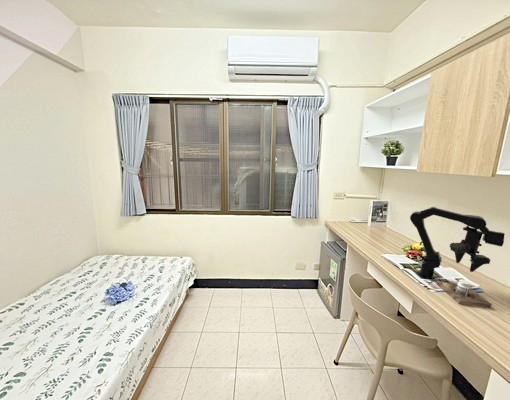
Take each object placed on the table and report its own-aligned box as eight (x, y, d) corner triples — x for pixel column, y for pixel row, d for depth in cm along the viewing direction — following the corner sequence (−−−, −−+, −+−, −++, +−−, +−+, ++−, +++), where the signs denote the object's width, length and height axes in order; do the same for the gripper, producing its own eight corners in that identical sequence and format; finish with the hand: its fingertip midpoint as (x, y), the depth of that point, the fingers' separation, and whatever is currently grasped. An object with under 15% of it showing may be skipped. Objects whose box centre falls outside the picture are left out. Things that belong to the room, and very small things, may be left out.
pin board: (436, 284, 122) (437, 280, 121) (463, 287, 120) (465, 284, 120) (458, 303, 106) (459, 299, 106) (490, 307, 105) (491, 303, 104)
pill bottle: (460, 293, 115) (465, 279, 113) (469, 299, 110) (474, 284, 109) (451, 292, 115) (456, 278, 113) (460, 299, 110) (464, 284, 108)
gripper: (442, 232, 124) (436, 257, 128) (470, 245, 106) (461, 274, 110) (464, 234, 123) (457, 259, 127) (495, 248, 105) (485, 277, 109)
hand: (464, 267), depth 118 cm, fingers open, 9 cm apart
